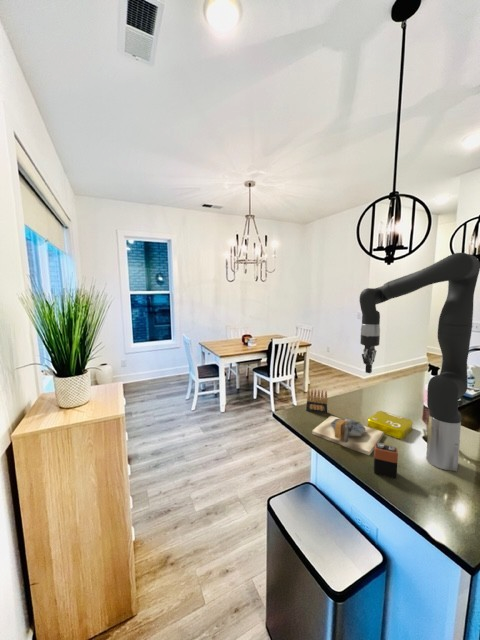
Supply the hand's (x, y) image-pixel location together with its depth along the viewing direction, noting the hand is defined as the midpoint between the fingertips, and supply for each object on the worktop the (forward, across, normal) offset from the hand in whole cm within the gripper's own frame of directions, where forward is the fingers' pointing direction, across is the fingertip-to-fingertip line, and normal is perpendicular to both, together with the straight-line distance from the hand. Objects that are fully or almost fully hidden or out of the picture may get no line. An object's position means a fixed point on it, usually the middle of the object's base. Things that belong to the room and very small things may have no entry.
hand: (368, 372), depth 118 cm
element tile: (+28, -10, +7) cm, 30 cm away
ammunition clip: (+27, -4, -26) cm, 38 cm away
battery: (+27, +26, +14) cm, 40 cm away
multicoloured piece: (+24, +11, -5) cm, 27 cm away
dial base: (+27, +9, -5) cm, 29 cm away
